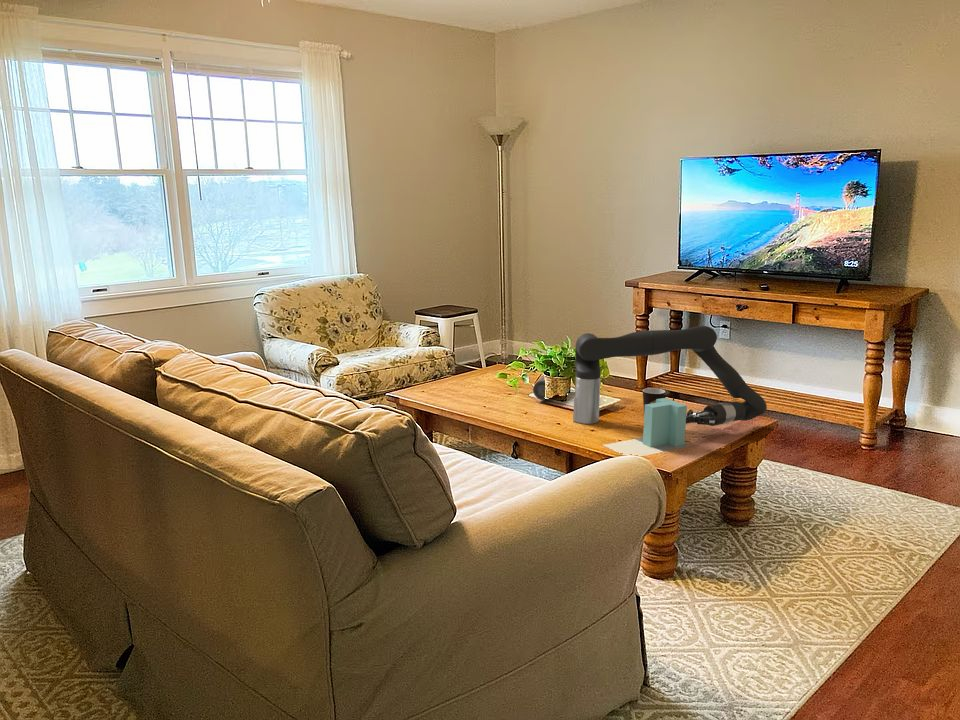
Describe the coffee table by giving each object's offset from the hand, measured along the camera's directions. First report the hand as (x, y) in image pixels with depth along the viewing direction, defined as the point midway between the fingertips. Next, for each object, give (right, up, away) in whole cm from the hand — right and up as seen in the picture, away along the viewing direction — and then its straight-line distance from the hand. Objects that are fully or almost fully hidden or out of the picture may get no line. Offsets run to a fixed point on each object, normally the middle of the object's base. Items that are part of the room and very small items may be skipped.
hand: (682, 420), depth 275 cm
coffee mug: (-2, -1, +30) cm, 31 cm away
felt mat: (-14, -9, -6) cm, 18 cm away
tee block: (-9, -8, -3) cm, 12 cm away
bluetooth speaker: (-41, +6, +58) cm, 71 cm away
